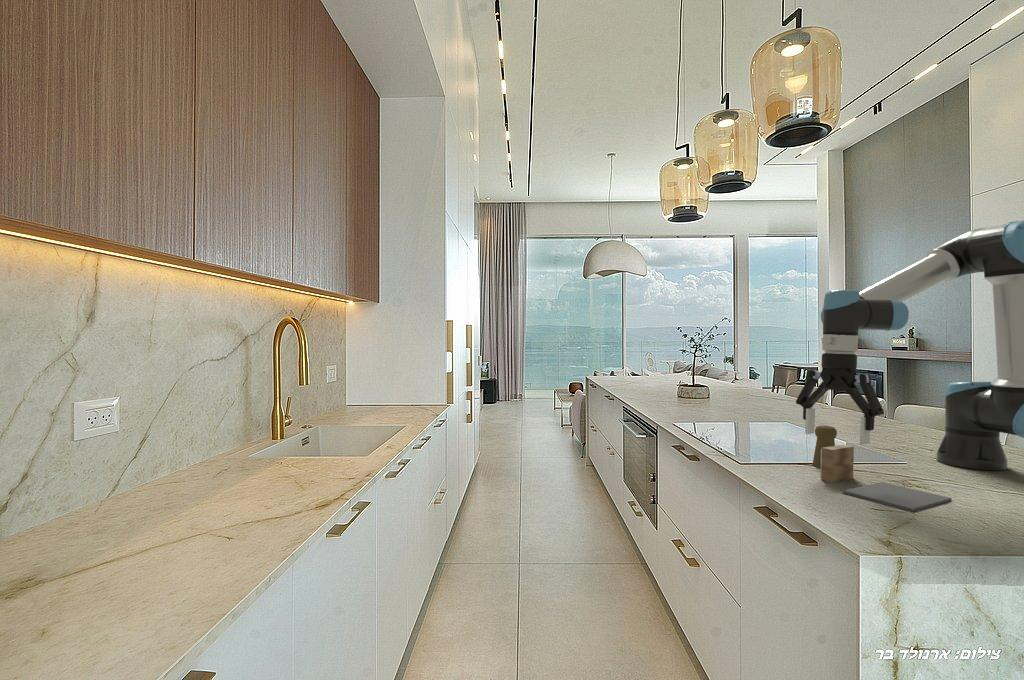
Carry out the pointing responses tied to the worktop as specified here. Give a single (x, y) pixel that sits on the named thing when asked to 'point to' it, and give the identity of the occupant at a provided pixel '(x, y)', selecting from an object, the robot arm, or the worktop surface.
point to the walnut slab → (837, 463)
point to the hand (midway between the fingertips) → (836, 438)
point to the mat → (897, 496)
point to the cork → (823, 441)
